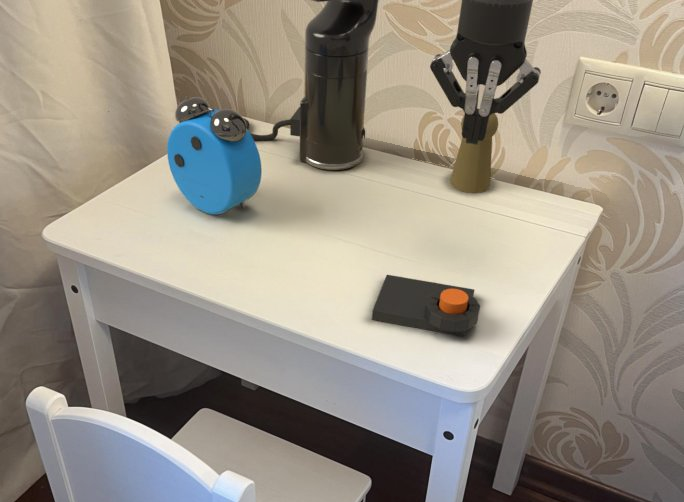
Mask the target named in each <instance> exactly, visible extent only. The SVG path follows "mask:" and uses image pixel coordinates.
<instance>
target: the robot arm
mask: <svg viewBox="0 0 684 502" xmlns="http://www.w3.org/2000/svg"><path fill="white" fill-rule="evenodd" d="M310 1H312V2H315V3H323V2H326V3H325V5H324V6H323V8H322V9H321V10H320V11H319V12H318V13H317V14H316V15H315V16H314V17H313V18H312V19H311V20H310V21H309V22H308V23H307V24H306V28H305V33H304V88H303V89H304V91H303V93H304V94H303V95H304V96H303V98H301V100H300V102H299V103H300V104H299V107H298V108H297V109H296V111H295V112H294V113H293V115H292V116H291V117H290V118H289V119H284V120H281V121H278V122H276V123H275V124H274V125H273V126H272V131H271V133H269V134H255V133H252V132H249V133H250V134H251V136H252V138H253V140H254V141H257V142H259V141H260V142H263V141H265V142H266V141H272V140H274V139H276V138H277V136H278V134H279V129H281V128H283V127H287V126H290V127H289V128H290V129H289V130H290V131H289V134H290V136H292V137H299V162H303V163H307V164H308V165H309V166H312V167H315V168H317V169H321V170H328V171H340V170H341V171H342V170H346V169H350V168H353V167H356V166H357V165H359V164H360V163H361V162H362V160H363V156H364V155H363V148H364V143H363V142H364V140H366V129H365V113H366V95H367V80H368V65H369V49H370V47H369V46H370V38H371V35H372V33H373V31H374V29H375V25H376V22H377V16H378V7H379V0H310ZM533 2H534V0H461V4H460V11H459V18H458V25H457V31H456V36H455V38H454V40H453V41H452V43H451V44H450V47H449V49H448V50H447V51H445V52H444V53H442V54H441V53H437V54H436V55H435V56H434V57H433V58H432V61H431V63H430V65H429V68H430V70H431V73H432V74H433V76H434V77H435V80H436V81H437V83H438V84H439V86H440V88H441V89H442V92H443V93H444V95H445V97H446V98H447V100H448V102H449V103H450V106H452V107H453V108H459V109H462V111H463V112H464V115H465V116H464V115H463V116H464V122H463V128H461V139H462V138H466V143H468V144H474V145H478V142H479V141H483V140H484V138H485V136H486V133H487V128H488V123H489V117H490V115H491V114H494V113H495V114H499V115H501V114H504V113H505V112H507V110H508V109H510V108H511V107H512V106H513V105H514V104H516V103H517V102H518V101H519V100H520V99H522V98H523V97H524V96H525V95H526V94H527V93H528V92H529V91H531V90H532V89H533V88H534V87H535V86H537V84H538V83H539V80H540V77H541V73H542V72H541V69H540V67H537V66H534V65H532V64H531V63H530V62H529V61H528V59H527V55H528V53H527V52H528V51H527V48H526V38H527V32H528V28H529V22H530V18H531V12H532V9H533V8H532V7H533ZM453 62H454V63H453ZM454 65H455V66H456V68H457V70H458V72H459V74H460V76H461V78H462V79H463V81H464V82H465V92H464V90H463V87H461V84H460V83H459V81H458V79H457V77H456V76H455V73H454V72H453V71H452V70H453V68H454ZM518 70H519V72H518V73H517V76H516V82H515V83H514V84H513V85H512V86H510V87H509V88H508V89H507V90H506V91H505V92H504V93H502V94H501V95H500V96H499V97H495V94H496V92H497V88H498V87H500V86H501V85H503V84H504V83H506V82H507V80H508V79H510V78H511V76H513V75H514V74H515V73H516V72H517V71H518ZM481 85H482V86H484V89H483V93H482V98H481V101H480V105H479V98H480V97H479V96H480V87H481ZM243 118H244V120H245V122H246V127H247V130H248V129H249V127H250V122H249V120H248V119H246V118H245V117H243ZM248 131H249V130H248Z"/></svg>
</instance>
